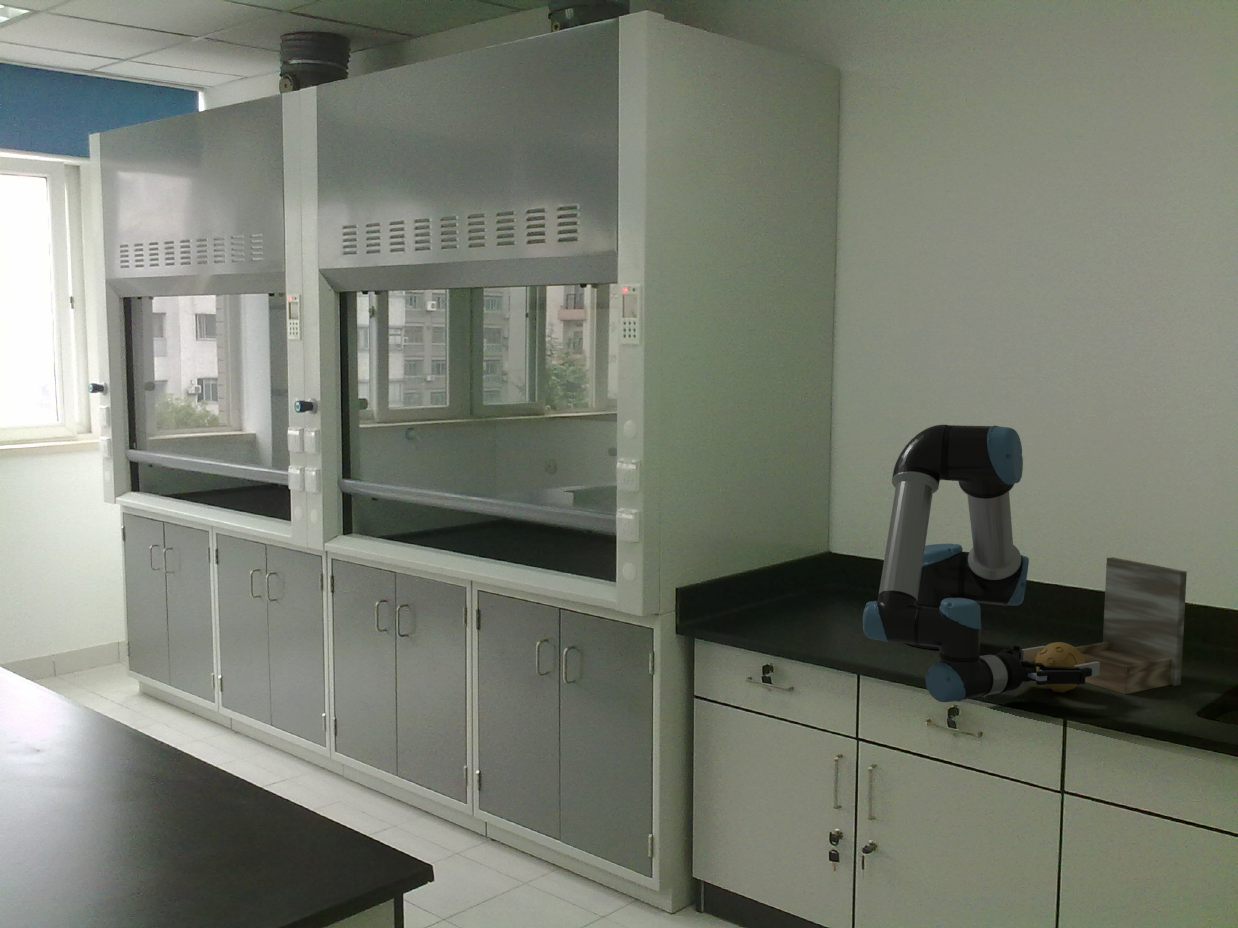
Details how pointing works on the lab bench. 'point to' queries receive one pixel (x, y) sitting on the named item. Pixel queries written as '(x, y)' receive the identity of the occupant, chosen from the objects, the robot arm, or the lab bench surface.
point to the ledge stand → (1140, 628)
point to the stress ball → (1059, 661)
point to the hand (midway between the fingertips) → (1070, 660)
